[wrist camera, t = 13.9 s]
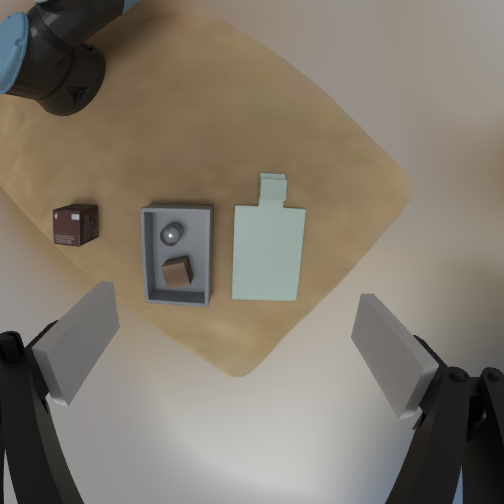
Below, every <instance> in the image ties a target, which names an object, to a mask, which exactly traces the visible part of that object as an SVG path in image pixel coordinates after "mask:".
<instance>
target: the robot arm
mask: <svg viewBox="0 0 504 504" xmlns="http://www.w3.org/2000/svg"><path fill="white" fill-rule="evenodd" d="M33 1H34V2H35V3H36V5H35V6H34V7H33V8H31V9H30V10H29V11H28V12H27V13H26V14H25V13H24V12H23V13H22V12H21V13H19V12H18V13H14V14H12V15H11V16H8V17H7V18H6V19H5V20H3V21H2V23H1V24H0V94H9V95H14V96H19V97H23V98H28V99H33V100H36V101H37V102H38V103H39V104H40V105H41V106H42V107H43V108H44V109H45V110H46V111H47V112H49V113H51V114H54V115H59V116H67V115H71V114H74V113H76V112H78V111H79V110H81V109H82V108H84V107H85V106H86V105H87V104H88V103H89V102H90V101H91V100H92V98H93V97H94V96H95V94H96V93H97V91H98V90H99V88H100V86H101V83H102V81H103V78H104V74H105V60H104V57H103V55H102V53H101V52H100V51H99V50H98V49H97V48H95V47H94V46H92V45H90V44H87V43H84V42H85V41H86V40H87V39H89V38H90V37H91V36H92V35H94V34H95V33H96V32H98V31H99V30H100V29H102V28H103V27H104V26H106V25H107V24H108V23H110V22H111V21H113V20H114V19H116V18H117V17H119V16H122V15H123V14H124V13H125V12H126V11H127V10H129V9H130V8H131V7H133V6H134V5H136V4H137V3H139V2H140V1H141V0H33ZM119 328H120V325H119V319H118V313H117V307H116V299H115V291H114V283H113V282H104V281H101V282H100V283H99V284H98V285H97V286H96V287H94V288H93V289H92V290H91V291H90V292H89V293H88V294H87V295H85V296H84V297H83V298H82V299H81V300H80V301H79V302H78V303H77V304H76V305H75V306H74V307H72V308H71V309H70V310H69V311H68V312H67V313H66V314H65V315H64V316H63V317H62V318H61V319H60V320H57V321H55V322H53V323H51V324H49V325H48V326H47V327H46V328H44V330H43V332H40V333H39V334H38V336H36V337H35V338H34V339H33V340H32V341H31V342H30V343H29V344H28V345H27V346H26V347H25V348H24V345H23V342H22V339H21V337H20V334H19V333H18V332H15V331H7V332H4V333H1V334H0V504H4V493H3V477H4V475H3V474H4V455H5V450H6V456H7V461H8V466H9V471H10V475H11V480H12V484H13V488H14V492H15V495H16V499H17V502H18V504H84V502H83V500H82V498H81V496H80V494H79V492H78V489H77V487H76V485H75V483H74V480H73V478H72V476H71V473H70V471H69V468H68V466H67V463H66V460H65V458H64V455H63V452H62V449H61V447H60V443H59V441H58V437H57V434H56V431H55V428H54V424H53V421H52V417H51V414H50V409H49V406H48V403H47V400H46V398H45V397H46V395H47V394H48V393H50V395H51V397H52V399H53V401H54V402H56V403H58V404H62V405H65V406H67V407H68V406H69V404H70V403H71V401H72V400H73V398H74V396H75V395H76V393H77V392H78V390H79V388H80V387H81V385H82V384H83V382H84V380H85V379H86V377H87V376H88V374H89V373H90V371H91V369H92V368H93V366H94V365H95V363H96V362H97V360H98V358H99V357H100V356H101V354H102V353H103V351H104V349H105V348H106V347H107V345H108V344H109V342H110V341H111V339H112V338H113V336H114V335H115V333H116V332H117V330H118V329H119ZM351 338H352V340H353V342H354V343H355V345H356V347H357V348H358V350H359V352H360V353H361V355H362V356H363V358H364V360H365V362H366V363H367V365H368V367H369V368H370V370H371V372H372V373H373V375H374V377H375V379H376V381H377V382H378V384H379V386H380V387H381V389H382V391H383V393H384V394H385V396H386V398H387V400H388V401H389V403H390V405H391V407H392V409H393V410H394V412H395V414H396V416H397V418H398V419H403V418H407V417H411V416H413V415H414V414H415V412H416V410H417V408H418V407H419V406H420V408H421V409H422V411H423V412H422V414H421V416H420V417H419V419H418V421H417V422H416V424H415V425H414V427H413V430H414V429H415V428H416V430H415V433H414V436H413V439H412V442H411V444H410V447H409V450H408V453H407V455H406V458H405V460H404V463H403V465H402V468H401V470H400V473H399V475H398V477H397V479H396V482H395V484H394V486H393V489H392V491H391V493H390V495H389V497H388V499H387V501H386V503H385V504H452V503H453V499H454V496H455V492H456V488H457V484H458V479H459V475H460V470H461V465H462V478H463V504H504V375H503V373H502V372H500V370H498V369H496V368H492V367H487V368H485V369H484V370H483V371H482V374H481V375H480V377H469V375H468V374H467V372H466V371H464V370H463V369H461V368H458V367H447V365H446V364H445V363H444V362H443V361H442V360H441V359H440V358H439V356H438V355H437V354H436V353H435V352H434V351H433V350H432V349H431V348H430V347H429V346H428V344H427V343H426V342H425V341H424V340H423V339H420V338H419V337H417V336H416V335H412V334H411V333H410V332H409V331H408V330H407V329H406V327H405V326H404V325H403V324H402V323H401V322H400V321H399V320H398V319H397V318H396V317H395V316H394V315H393V314H392V313H391V312H390V311H389V309H388V308H387V307H386V306H385V305H384V304H383V303H382V302H381V301H380V300H379V299H378V298H377V297H376V296H375V295H374V294H361V296H360V301H359V306H358V310H357V315H356V319H355V323H354V327H353V331H352V335H351ZM485 414H486V417H485V418H484V415H485Z"/></svg>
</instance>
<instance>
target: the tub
mask: <svg viewBox="0 0 504 504" xmlns="http://www.w3.org/2000/svg"><path fill="white" fill-rule="evenodd" d="M172 222H176V223H179V224H180V225H181V226H182V228H183V236H182V237H181V239H180V240H179V241H178V243H177V244H175V245H174V246H167V245H165V244H163V242H162V241H161V239H160V233H161V231H162V229H163V228H165V227H166V226H167V225H168V224H169V223H172ZM212 229H213V206H204V205H169V204H149V205H147V206H145V207H142V208H141V246H142V265H143V280H144V292H145V302H148V303H159V304H171V305H184V306H199V307H209V303H210V298H211V277H212ZM186 255H188V257H189V260H190V264H191V268H192V271H193V275H194V278H193V280H192V282H191V285H189V286H184V287H178V288H173V289H167V286H166V282H165V279H164V276H163V273H162V270H161V266H162V265H163V264H164V262H165V261H166V260H168V259H172V258H177V257H182V256H186Z"/></svg>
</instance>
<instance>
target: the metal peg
mask: <svg viewBox="0 0 504 504" xmlns="http://www.w3.org/2000/svg"><path fill="white" fill-rule="evenodd" d="M182 236H183V228H182V226H181V225H180V224H179V223H176V222H172V223H169V224H168V225H167V226H166V227H165V228H163V229H162V231H161V233H160V239H161V241H162V242H163V244H165V245H167V246H174V245H175V244H177V243H178V241H179V240H180V239H181V237H182Z"/></svg>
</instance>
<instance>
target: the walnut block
mask: <svg viewBox="0 0 504 504" xmlns="http://www.w3.org/2000/svg"><path fill="white" fill-rule="evenodd" d="M161 270H162V273H163V276H164V279H165V282H166V286H167V289H173V288H178V287H184V286H189V285H191V282H192V280H193V278H194V275H193V271H192V268H191V264H190V260H189V257H188V255H186V256H182V257H177V258H172V259H168V260H166V261H165V262H164V264H163V265H162V266H161Z"/></svg>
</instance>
